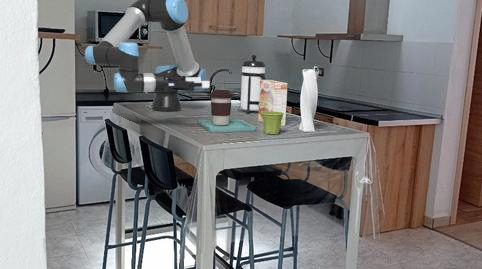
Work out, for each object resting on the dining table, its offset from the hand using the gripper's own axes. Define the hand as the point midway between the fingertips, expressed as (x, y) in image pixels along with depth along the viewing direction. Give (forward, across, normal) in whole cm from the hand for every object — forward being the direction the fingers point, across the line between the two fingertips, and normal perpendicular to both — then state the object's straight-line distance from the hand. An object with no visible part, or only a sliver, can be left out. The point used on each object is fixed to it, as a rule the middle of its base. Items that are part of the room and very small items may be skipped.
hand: (204, 82), depth 208 cm
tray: (+10, 0, -20) cm, 22 cm away
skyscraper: (+43, +12, -20) cm, 49 cm away
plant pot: (+25, +15, -20) cm, 35 cm away
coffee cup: (+9, -4, -19) cm, 21 cm away
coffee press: (+39, -43, -21) cm, 62 cm away
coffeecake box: (+35, -9, -20) cm, 41 cm away
